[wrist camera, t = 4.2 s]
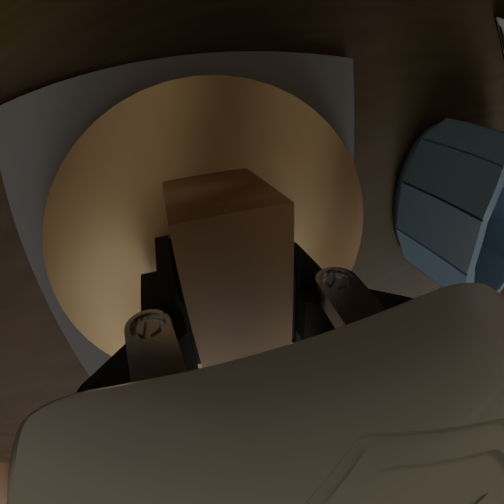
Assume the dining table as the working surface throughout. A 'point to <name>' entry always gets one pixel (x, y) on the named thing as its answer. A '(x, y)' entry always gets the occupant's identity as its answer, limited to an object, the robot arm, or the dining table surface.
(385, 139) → the dining table surface
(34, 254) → the mat
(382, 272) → the dining table surface
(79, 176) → the lid
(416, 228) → the bowl
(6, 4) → the dining table surface
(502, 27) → the candy bar box
